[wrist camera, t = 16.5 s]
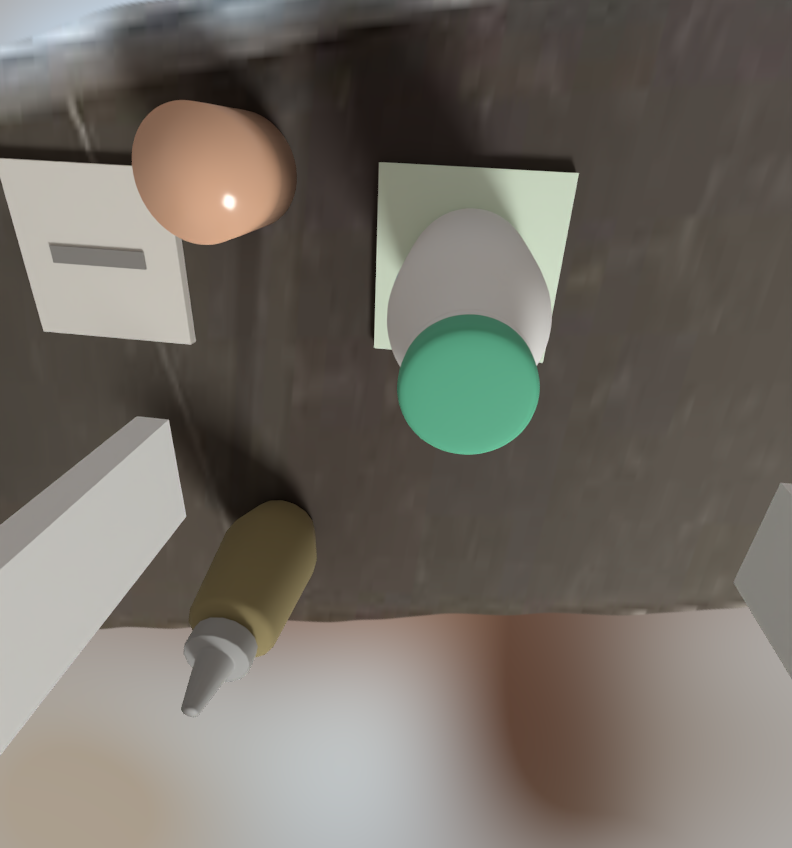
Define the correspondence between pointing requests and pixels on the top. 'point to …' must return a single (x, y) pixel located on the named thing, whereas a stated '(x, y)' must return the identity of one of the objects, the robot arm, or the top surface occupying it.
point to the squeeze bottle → (247, 596)
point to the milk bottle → (469, 332)
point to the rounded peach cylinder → (212, 170)
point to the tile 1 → (97, 252)
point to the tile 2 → (459, 189)
